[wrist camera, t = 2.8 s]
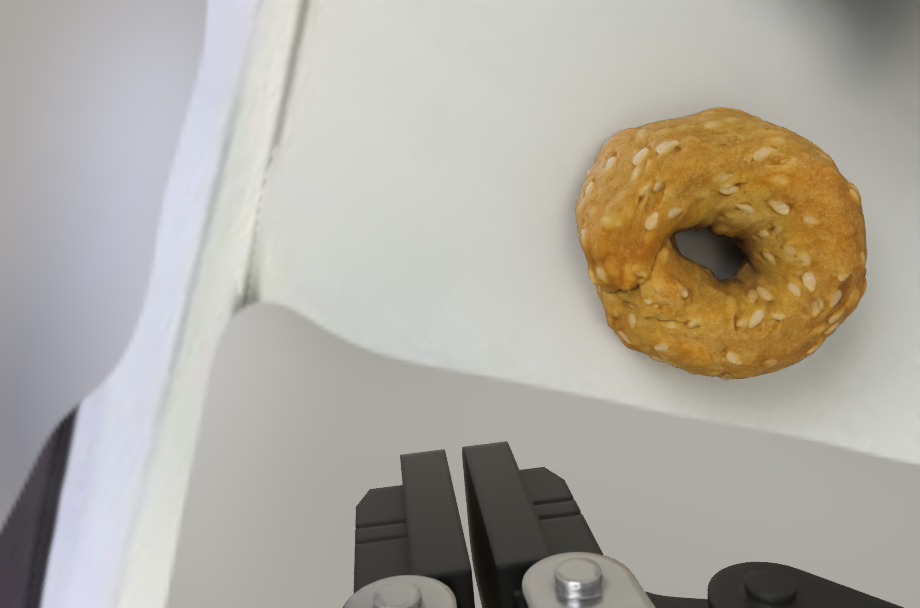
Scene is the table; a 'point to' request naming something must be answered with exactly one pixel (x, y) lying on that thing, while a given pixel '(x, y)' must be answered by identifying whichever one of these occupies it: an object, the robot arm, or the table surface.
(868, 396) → the table surface
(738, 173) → the bagel
